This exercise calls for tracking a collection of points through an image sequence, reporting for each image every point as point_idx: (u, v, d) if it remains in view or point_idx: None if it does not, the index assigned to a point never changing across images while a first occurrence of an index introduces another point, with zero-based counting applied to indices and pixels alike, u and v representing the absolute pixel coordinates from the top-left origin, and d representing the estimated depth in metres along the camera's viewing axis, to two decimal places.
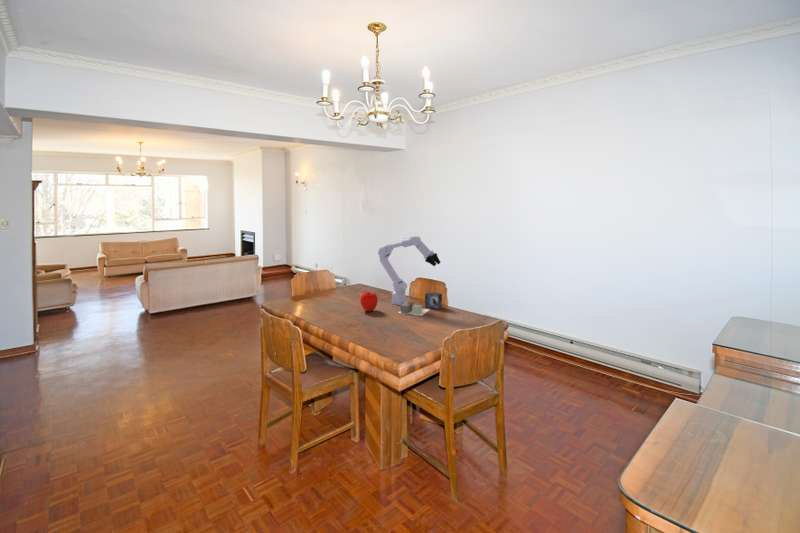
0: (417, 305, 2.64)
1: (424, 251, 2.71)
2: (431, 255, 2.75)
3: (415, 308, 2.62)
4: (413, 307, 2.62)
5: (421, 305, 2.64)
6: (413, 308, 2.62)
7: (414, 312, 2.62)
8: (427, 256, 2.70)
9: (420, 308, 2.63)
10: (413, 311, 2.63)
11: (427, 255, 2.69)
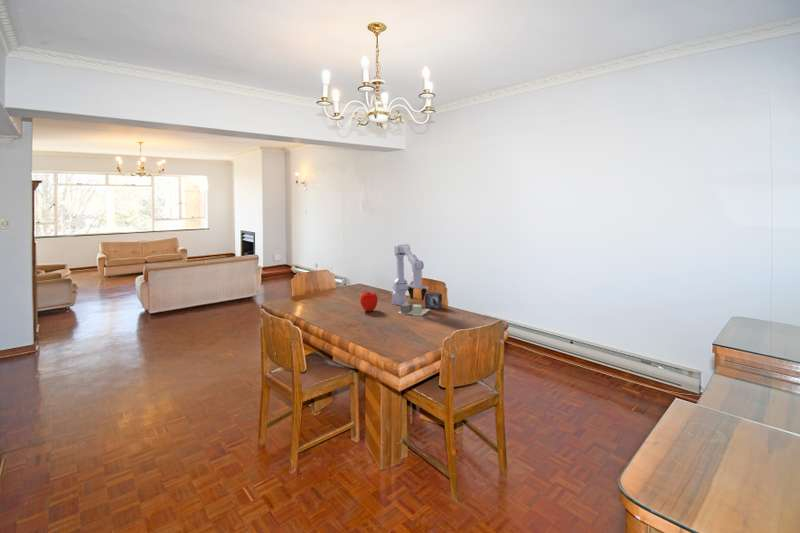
0: (417, 305, 2.64)
1: None
2: (420, 288, 2.61)
3: (415, 308, 2.62)
4: (413, 307, 2.62)
5: (421, 305, 2.64)
6: (413, 308, 2.62)
7: (414, 312, 2.62)
8: None
9: (420, 308, 2.63)
10: (413, 311, 2.63)
11: (410, 286, 2.63)
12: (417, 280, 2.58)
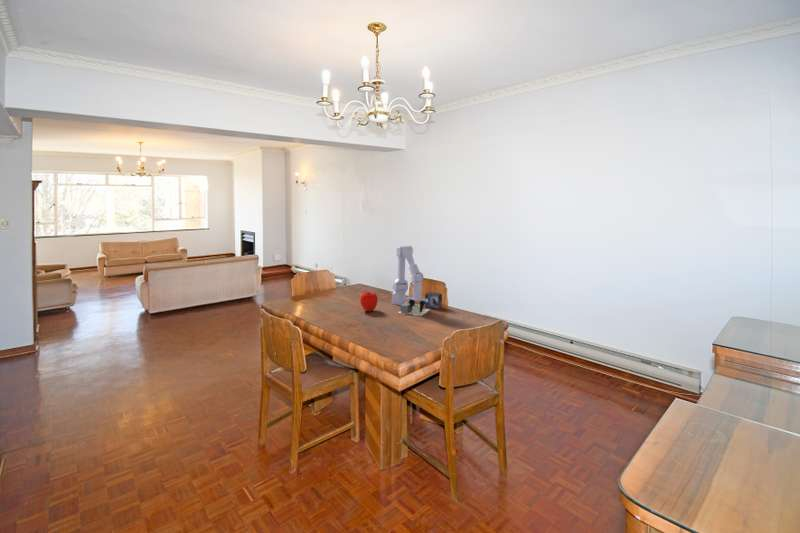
0: (417, 305, 2.64)
1: None
2: (419, 300, 2.62)
3: (415, 308, 2.62)
4: (413, 307, 2.62)
5: None
6: (413, 308, 2.62)
7: (414, 312, 2.62)
8: (411, 299, 2.64)
9: None
10: (413, 311, 2.63)
11: (410, 298, 2.64)
12: (417, 293, 2.59)
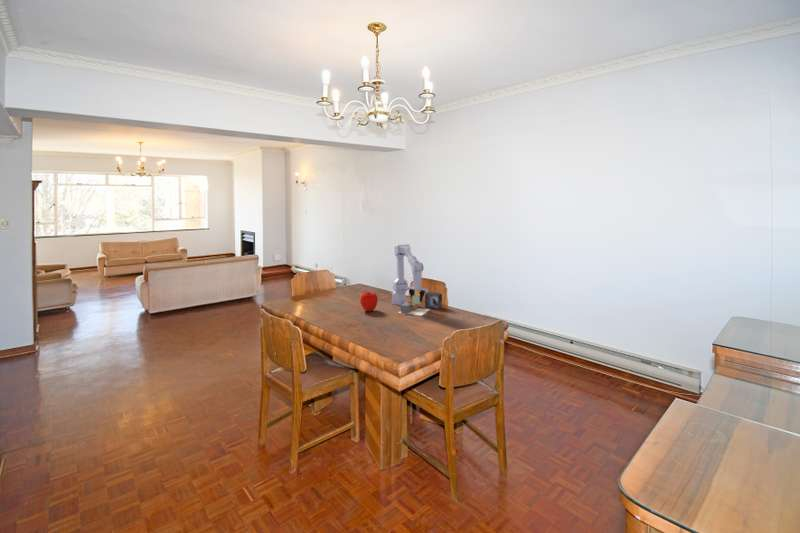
0: (417, 295, 2.63)
1: None
2: (419, 290, 2.61)
3: (415, 298, 2.61)
4: (413, 297, 2.61)
5: None
6: (413, 298, 2.62)
7: (414, 302, 2.61)
8: None
9: None
10: (413, 301, 2.62)
11: (410, 288, 2.63)
12: (417, 282, 2.59)
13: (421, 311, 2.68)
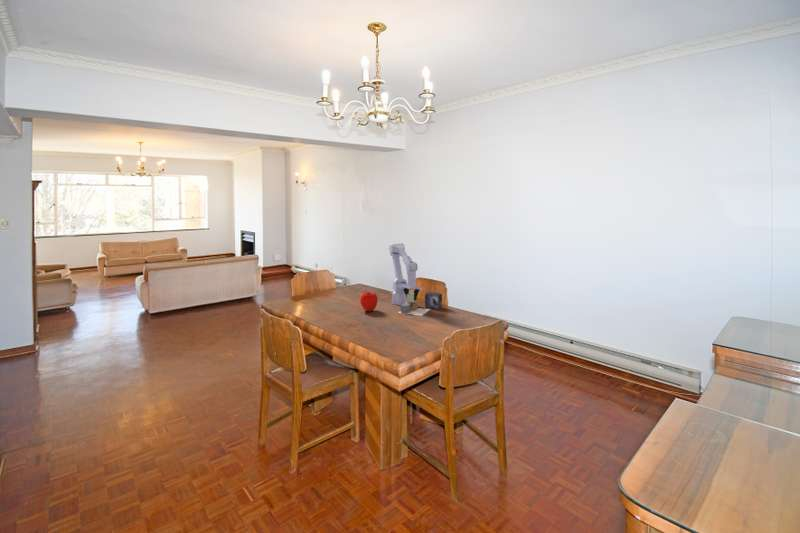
0: (411, 293, 2.72)
1: None
2: (414, 289, 2.70)
3: (410, 296, 2.70)
4: (407, 295, 2.70)
5: None
6: (407, 296, 2.71)
7: (409, 300, 2.70)
8: None
9: None
10: (407, 299, 2.71)
11: None
12: (411, 281, 2.68)
13: (421, 311, 2.68)
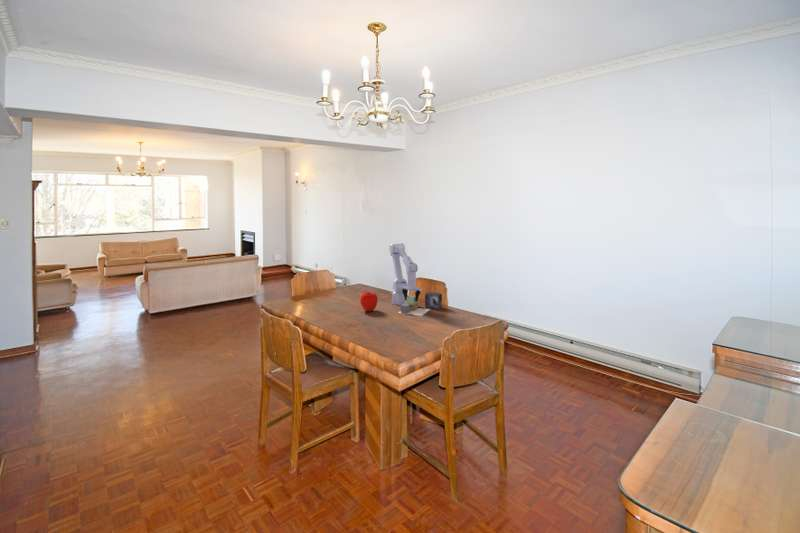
0: (411, 296, 2.73)
1: None
2: (414, 290, 2.70)
3: (409, 298, 2.70)
4: (407, 298, 2.71)
5: (415, 296, 2.73)
6: (407, 299, 2.71)
7: (409, 302, 2.71)
8: None
9: (414, 299, 2.71)
10: (407, 302, 2.71)
11: (404, 288, 2.72)
12: (411, 282, 2.68)
13: (421, 311, 2.68)
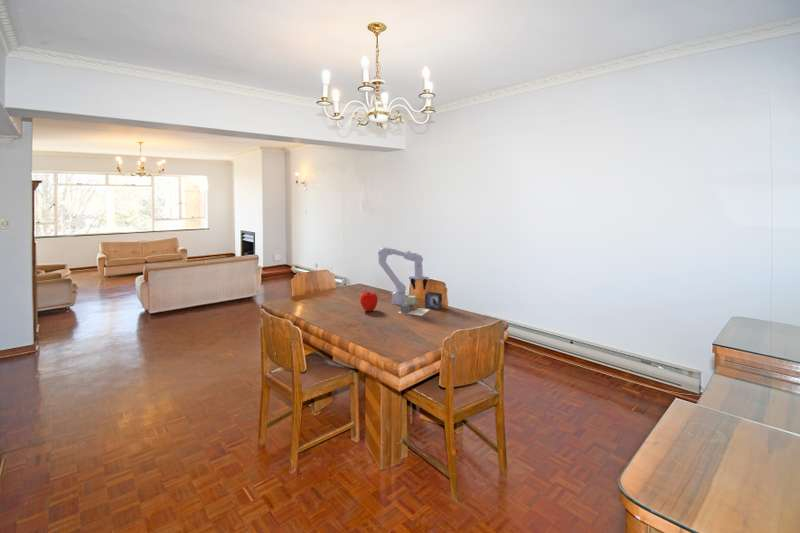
0: (411, 296, 2.73)
1: None
2: (421, 279, 2.87)
3: (409, 298, 2.70)
4: (407, 298, 2.71)
5: (415, 296, 2.73)
6: (407, 299, 2.71)
7: (409, 302, 2.71)
8: (413, 278, 2.89)
9: (414, 299, 2.71)
10: (407, 302, 2.71)
11: (412, 278, 2.88)
12: (418, 272, 2.84)
13: (421, 311, 2.68)
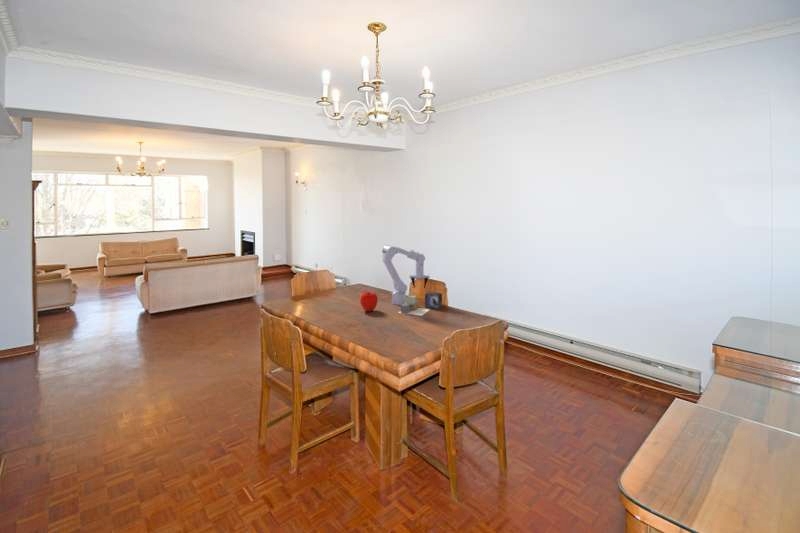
0: (411, 296, 2.73)
1: None
2: (422, 277, 2.92)
3: (409, 298, 2.70)
4: (407, 298, 2.71)
5: (415, 296, 2.73)
6: (407, 299, 2.71)
7: (409, 302, 2.71)
8: (413, 277, 2.93)
9: (414, 299, 2.71)
10: (407, 302, 2.71)
11: (413, 276, 2.92)
12: (420, 270, 2.89)
13: (421, 311, 2.68)
